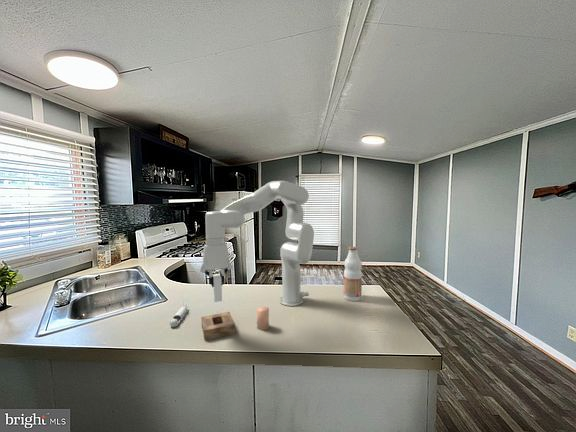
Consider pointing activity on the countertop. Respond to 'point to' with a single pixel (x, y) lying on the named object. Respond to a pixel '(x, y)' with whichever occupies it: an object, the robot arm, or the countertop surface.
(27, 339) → the countertop surface
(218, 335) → the slot block
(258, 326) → the round peg
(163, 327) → the countertop surface
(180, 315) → the white long slotted part
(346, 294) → the fruit juice
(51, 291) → the countertop surface
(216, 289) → the flat bar peg
